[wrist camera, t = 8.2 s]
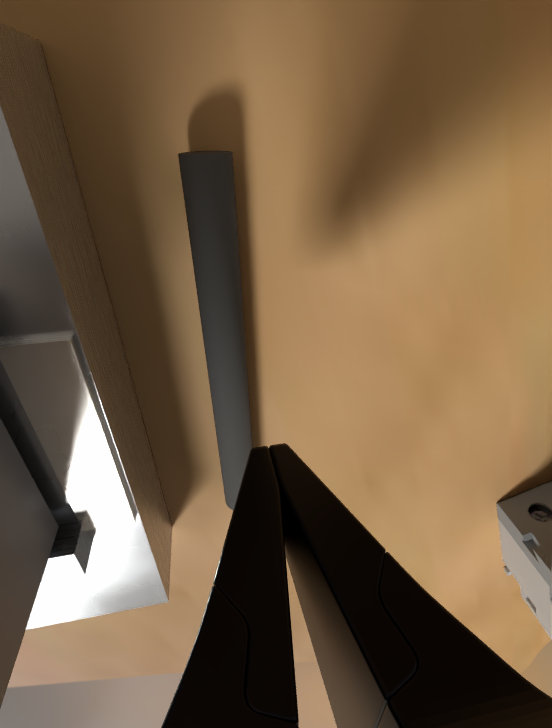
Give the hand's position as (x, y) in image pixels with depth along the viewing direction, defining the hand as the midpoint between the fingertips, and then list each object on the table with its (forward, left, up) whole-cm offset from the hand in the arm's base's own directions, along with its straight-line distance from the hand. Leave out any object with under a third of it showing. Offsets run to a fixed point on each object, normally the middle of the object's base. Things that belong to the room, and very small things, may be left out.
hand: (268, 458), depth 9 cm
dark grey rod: (0, +1, -4) cm, 4 cm away
